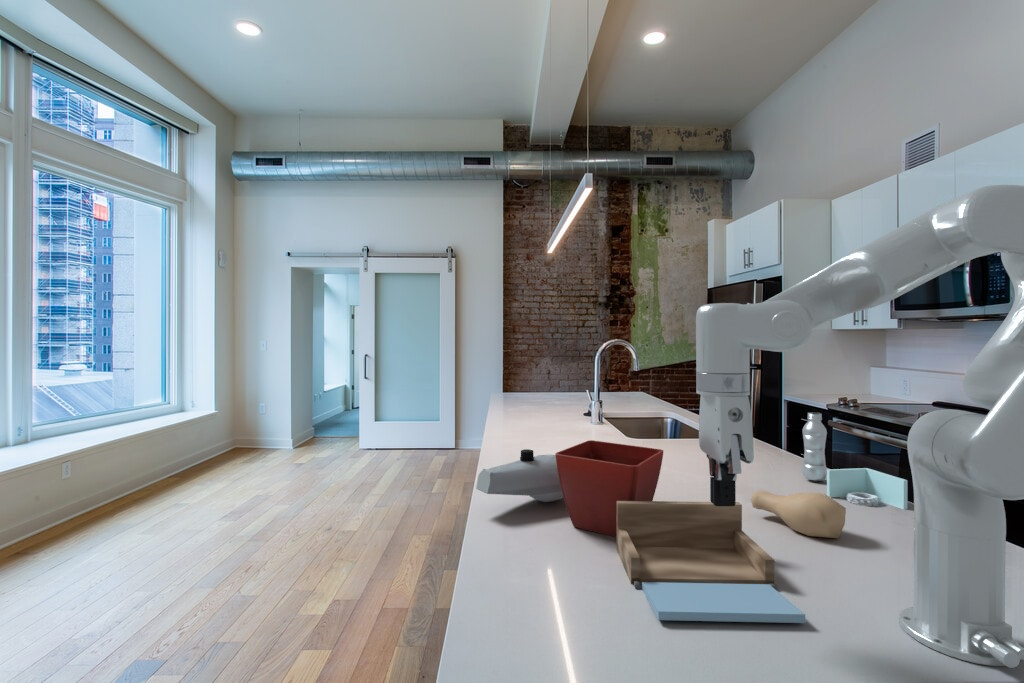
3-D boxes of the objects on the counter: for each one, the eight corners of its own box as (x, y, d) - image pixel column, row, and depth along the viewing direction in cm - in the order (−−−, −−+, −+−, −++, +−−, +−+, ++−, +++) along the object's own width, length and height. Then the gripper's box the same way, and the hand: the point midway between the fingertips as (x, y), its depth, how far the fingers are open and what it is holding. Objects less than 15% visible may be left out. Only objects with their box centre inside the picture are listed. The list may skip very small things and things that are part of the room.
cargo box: (779, 594, 83) (779, 534, 83) (633, 592, 84) (633, 532, 84) (738, 552, 99) (738, 502, 99) (616, 550, 100) (616, 500, 100)
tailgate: (769, 591, 83) (805, 623, 72) (641, 589, 84) (658, 620, 73) (769, 584, 83) (805, 614, 72) (641, 582, 84) (658, 611, 73)
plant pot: (664, 520, 117) (665, 448, 117) (636, 549, 101) (636, 465, 101) (589, 505, 127) (589, 439, 127) (552, 529, 111) (553, 453, 111)
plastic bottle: (805, 482, 148) (805, 414, 148) (799, 476, 155) (799, 411, 154) (830, 484, 146) (830, 415, 146) (823, 477, 153) (823, 412, 153)
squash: (828, 549, 101) (828, 505, 101) (739, 519, 118) (739, 480, 118) (856, 538, 106) (857, 496, 106) (767, 511, 124) (767, 474, 123)
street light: (555, 486, 143) (555, 438, 143) (594, 501, 131) (594, 447, 131) (464, 508, 125) (464, 452, 125) (500, 527, 113) (500, 465, 113)
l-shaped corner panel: (826, 497, 135) (827, 469, 135) (866, 495, 136) (866, 468, 136) (864, 512, 123) (864, 482, 123) (907, 510, 124) (907, 480, 124)
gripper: (771, 389, 69) (771, 522, 69) (727, 380, 84) (728, 490, 84) (715, 389, 69) (716, 522, 69) (682, 380, 84) (682, 489, 84)
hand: (722, 504), depth 77 cm, fingers closed
